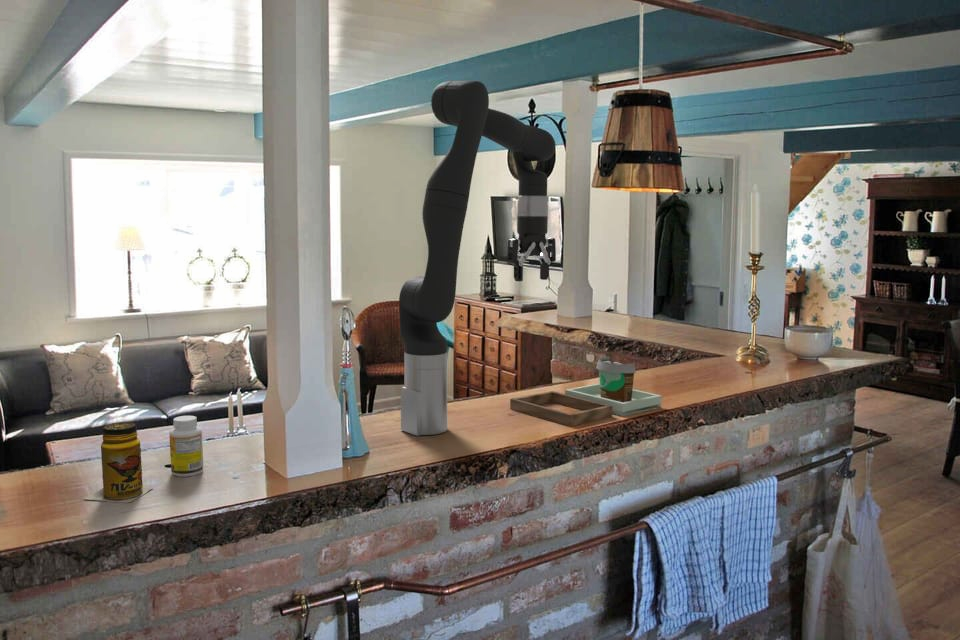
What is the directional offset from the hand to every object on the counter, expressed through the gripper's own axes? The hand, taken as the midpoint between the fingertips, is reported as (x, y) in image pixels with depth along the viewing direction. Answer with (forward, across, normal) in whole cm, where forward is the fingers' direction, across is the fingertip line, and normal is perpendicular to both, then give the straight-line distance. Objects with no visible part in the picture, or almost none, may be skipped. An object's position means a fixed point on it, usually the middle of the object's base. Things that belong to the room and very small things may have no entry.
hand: (531, 280), depth 206 cm
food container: (+29, +11, -17) cm, 36 cm away
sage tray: (+30, +12, -17) cm, 37 cm away
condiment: (+30, -102, -9) cm, 107 cm away
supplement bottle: (+30, -89, -5) cm, 94 cm away
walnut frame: (+30, -4, -15) cm, 34 cm away
